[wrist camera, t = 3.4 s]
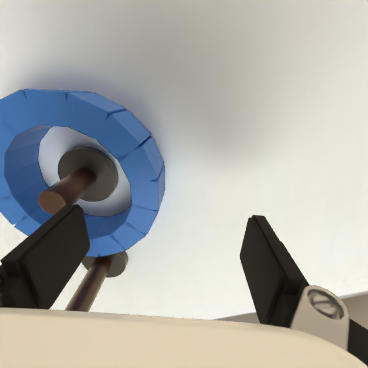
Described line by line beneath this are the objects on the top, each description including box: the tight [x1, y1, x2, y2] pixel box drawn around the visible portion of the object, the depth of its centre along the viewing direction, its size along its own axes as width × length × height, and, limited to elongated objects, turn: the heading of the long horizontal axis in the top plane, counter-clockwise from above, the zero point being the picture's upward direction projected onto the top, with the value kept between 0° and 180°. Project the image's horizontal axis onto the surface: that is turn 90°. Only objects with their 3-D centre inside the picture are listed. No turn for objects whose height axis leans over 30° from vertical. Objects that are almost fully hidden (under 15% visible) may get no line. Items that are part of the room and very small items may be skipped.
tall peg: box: [64, 251, 127, 312], centre depth 14 cm, size 5×5×14 cm
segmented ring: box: [0, 89, 165, 257], centre depth 15 cm, size 13×13×3 cm
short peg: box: [38, 147, 118, 215], centre depth 14 cm, size 5×5×5 cm
